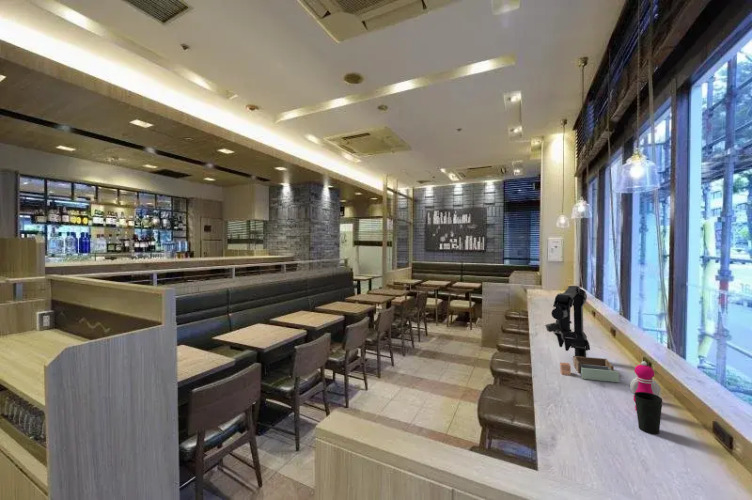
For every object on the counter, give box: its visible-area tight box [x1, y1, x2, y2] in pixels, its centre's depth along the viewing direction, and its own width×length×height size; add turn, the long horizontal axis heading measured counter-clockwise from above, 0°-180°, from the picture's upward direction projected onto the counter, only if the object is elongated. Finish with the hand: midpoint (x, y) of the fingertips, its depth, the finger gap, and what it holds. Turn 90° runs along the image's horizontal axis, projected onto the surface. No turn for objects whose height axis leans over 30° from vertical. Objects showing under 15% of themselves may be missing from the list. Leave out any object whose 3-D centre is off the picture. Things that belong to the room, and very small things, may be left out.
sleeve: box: [572, 355, 615, 374], centre depth 172 cm, size 12×15×5 cm
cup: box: [633, 392, 663, 435], centre depth 116 cm, size 8×8×12 cm
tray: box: [580, 364, 620, 383], centre depth 164 cm, size 12×15×5 cm
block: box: [559, 361, 572, 376], centre depth 169 cm, size 4×4×5 cm
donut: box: [629, 377, 661, 397], centre depth 138 cm, size 10×4×10 cm, turn 59°
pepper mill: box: [633, 360, 655, 412], centre depth 128 cm, size 7×7×20 cm
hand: (563, 348), depth 169 cm, fingers open, 9 cm apart
